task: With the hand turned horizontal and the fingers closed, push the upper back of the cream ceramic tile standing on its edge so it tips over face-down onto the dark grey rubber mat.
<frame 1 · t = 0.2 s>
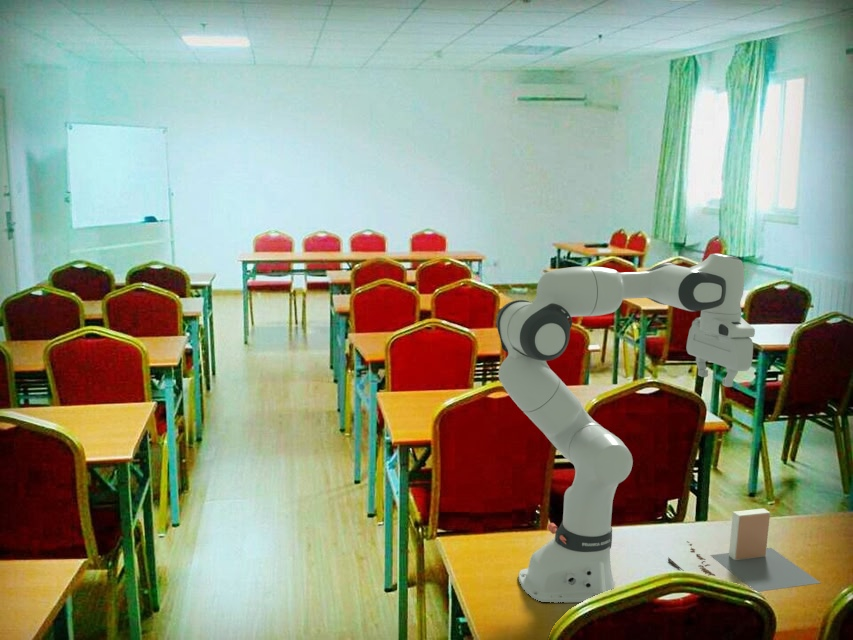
hand: (714, 381, 185), 48 cm above the table, tool pointing down, fingers open, 8 cm apart
tile: (747, 556, 200), resting on mat
mat: (763, 570, 193), on the table
wooden fragment: (686, 559, 199), on the table
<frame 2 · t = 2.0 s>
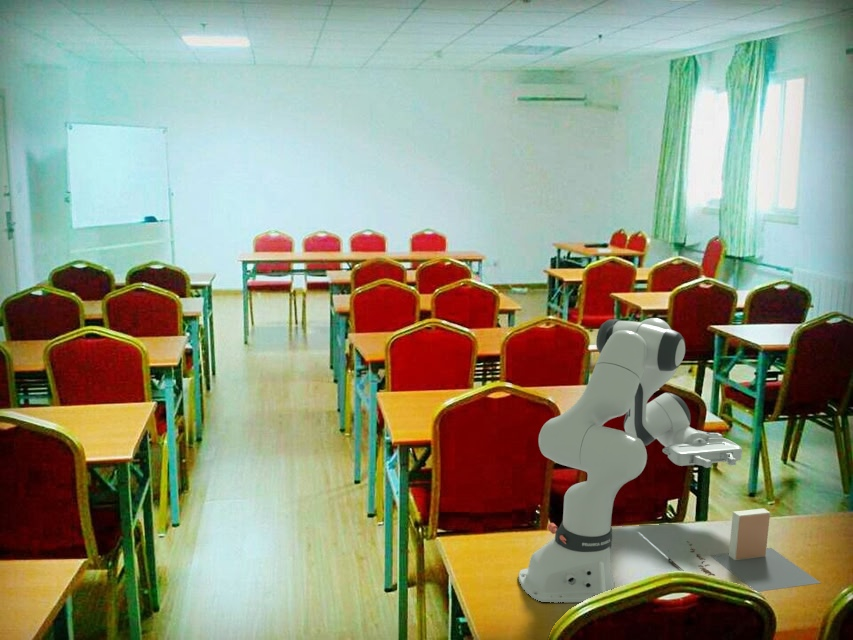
hand: (721, 463, 209), 20 cm above the table, tool horizontal, fingers open, 6 cm apart
nothing on the table moved.
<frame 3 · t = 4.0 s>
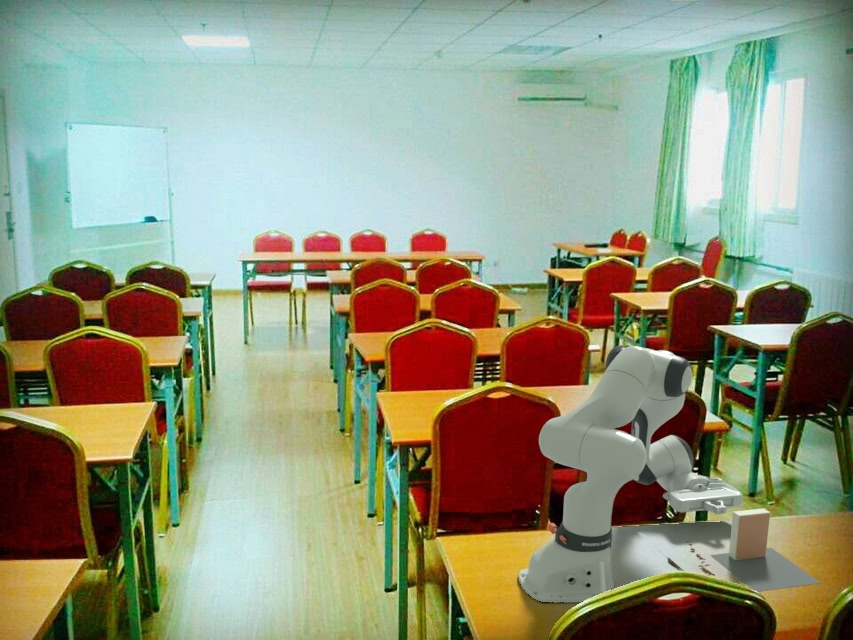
hand: (722, 511, 209), 8 cm above the table, tool horizontal, fingers closed
nothing on the table moved.
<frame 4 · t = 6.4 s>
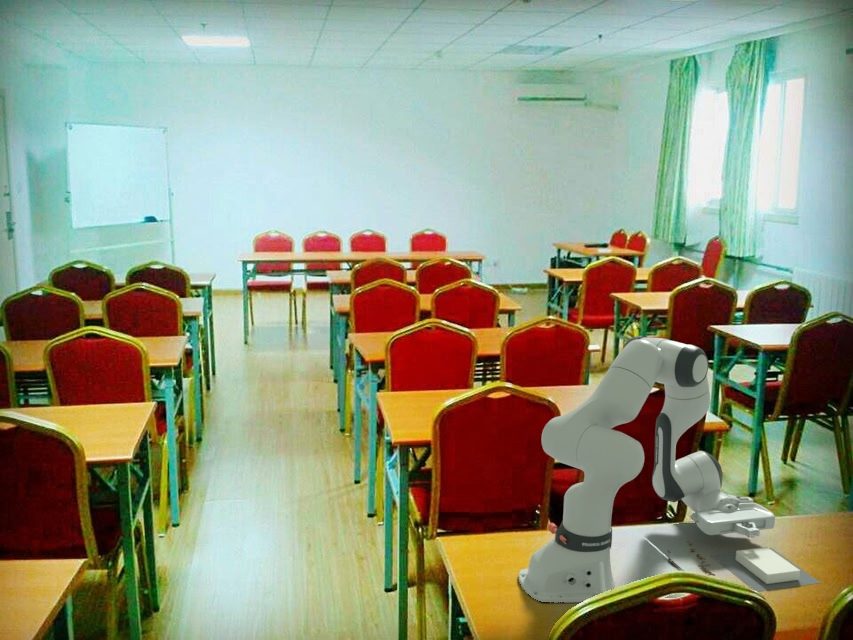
hand: (754, 534, 196), 7 cm above the table, tool horizontal, fingers closed
tile: (751, 553, 198), point 2 cm above the table, tilted 90°, touching mat
everything else where it was.
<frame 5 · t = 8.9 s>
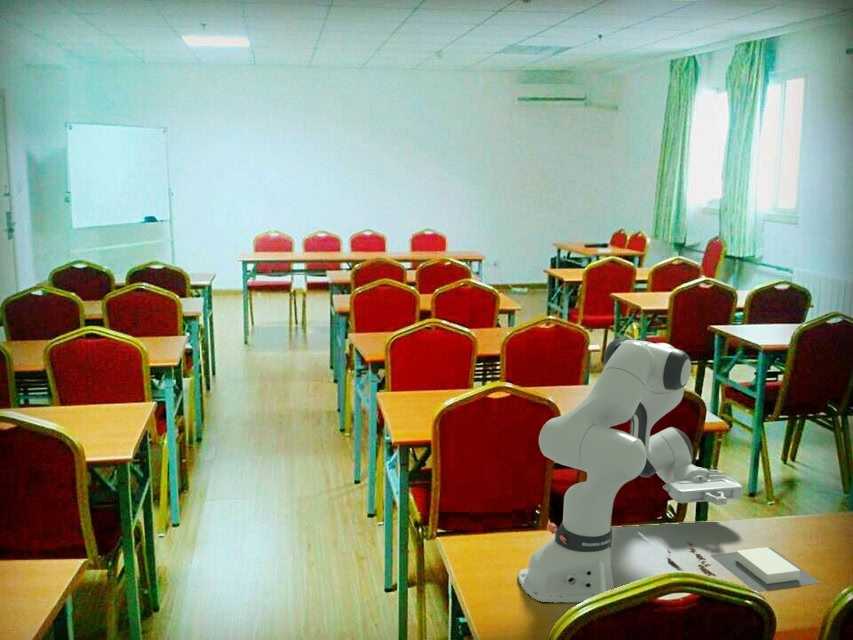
hand: (722, 502, 208), 10 cm above the table, tool horizontal, fingers closed
nothing on the table moved.
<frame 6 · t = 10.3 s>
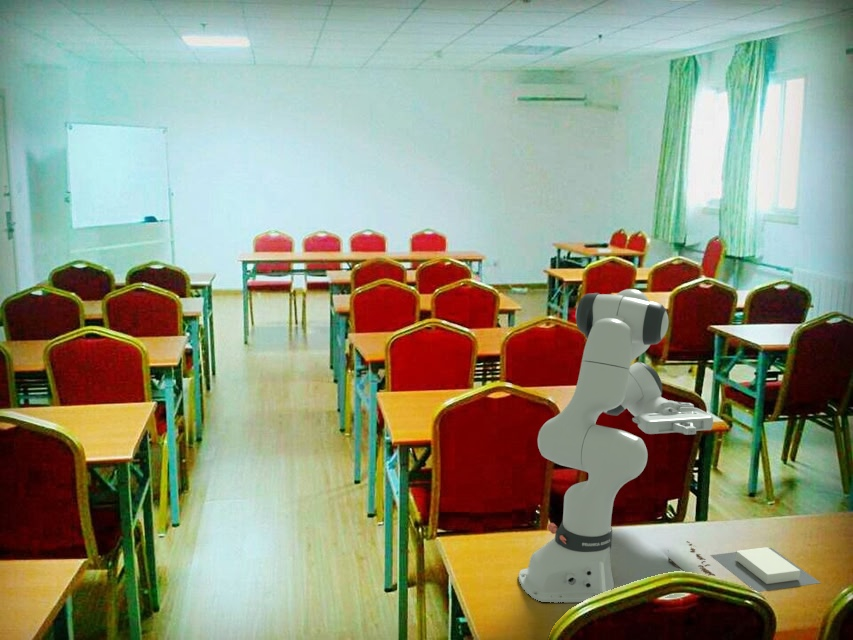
hand: (691, 431, 204), 30 cm above the table, tool horizontal, fingers closed
nothing on the table moved.
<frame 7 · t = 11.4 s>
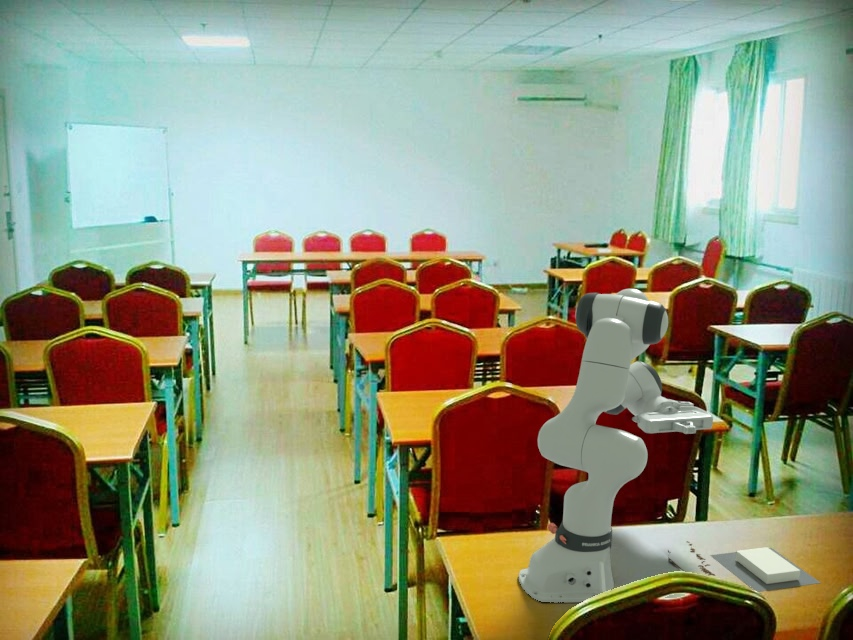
hand: (691, 430, 204), 30 cm above the table, tool horizontal, fingers closed
nothing on the table moved.
at the end: tile tilted 90°; tile inside the target area (2.0 cm from its centre), point 2.0 cm above the table; tile touching mat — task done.
